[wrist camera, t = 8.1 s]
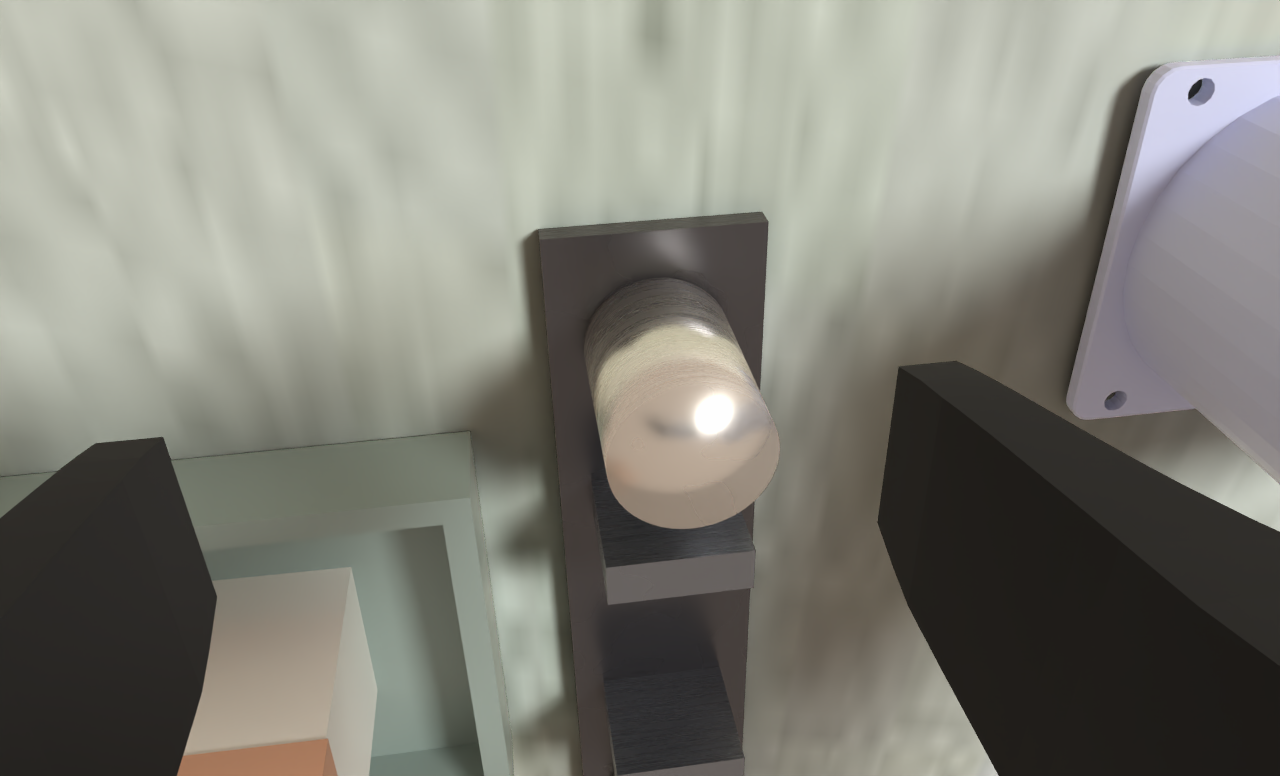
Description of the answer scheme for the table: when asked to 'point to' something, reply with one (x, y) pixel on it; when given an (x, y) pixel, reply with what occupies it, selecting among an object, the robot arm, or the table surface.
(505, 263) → the table surface
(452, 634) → the tray
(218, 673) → the beige and orange block
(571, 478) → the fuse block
